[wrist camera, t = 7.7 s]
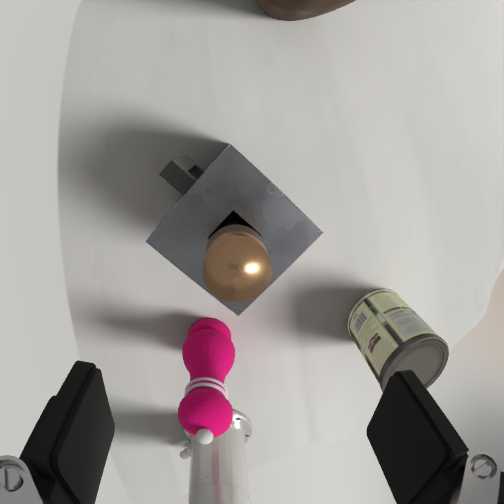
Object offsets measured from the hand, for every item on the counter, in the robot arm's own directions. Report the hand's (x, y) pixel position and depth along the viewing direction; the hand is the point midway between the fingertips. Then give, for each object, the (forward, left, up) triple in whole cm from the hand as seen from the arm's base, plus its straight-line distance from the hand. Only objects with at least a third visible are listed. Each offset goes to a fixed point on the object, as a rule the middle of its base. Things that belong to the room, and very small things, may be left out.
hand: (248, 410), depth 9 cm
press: (0, +2, -33) cm, 33 cm away
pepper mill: (-17, -11, -33) cm, 39 cm away
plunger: (0, 0, -27) cm, 27 cm away
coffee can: (+2, -29, -33) cm, 44 cm away
